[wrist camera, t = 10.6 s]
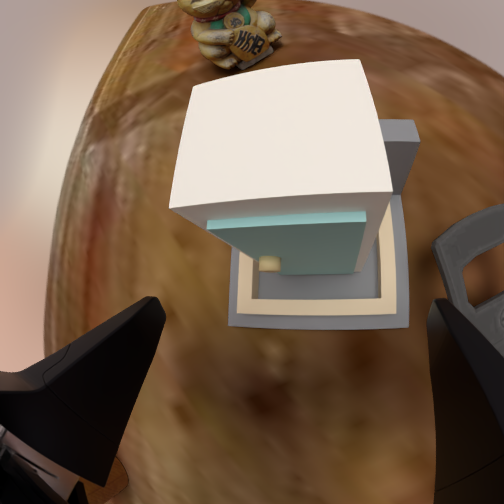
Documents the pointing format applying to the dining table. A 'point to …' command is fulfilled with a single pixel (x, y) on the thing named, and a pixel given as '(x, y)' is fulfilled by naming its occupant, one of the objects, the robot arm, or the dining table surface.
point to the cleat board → (338, 285)
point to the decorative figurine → (231, 31)
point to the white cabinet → (286, 166)
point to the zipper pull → (459, 255)
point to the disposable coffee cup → (113, 485)
